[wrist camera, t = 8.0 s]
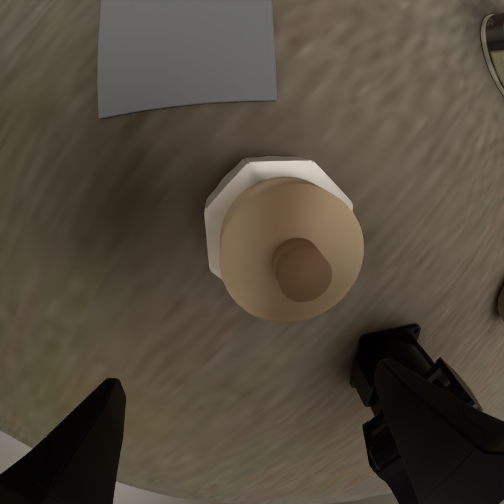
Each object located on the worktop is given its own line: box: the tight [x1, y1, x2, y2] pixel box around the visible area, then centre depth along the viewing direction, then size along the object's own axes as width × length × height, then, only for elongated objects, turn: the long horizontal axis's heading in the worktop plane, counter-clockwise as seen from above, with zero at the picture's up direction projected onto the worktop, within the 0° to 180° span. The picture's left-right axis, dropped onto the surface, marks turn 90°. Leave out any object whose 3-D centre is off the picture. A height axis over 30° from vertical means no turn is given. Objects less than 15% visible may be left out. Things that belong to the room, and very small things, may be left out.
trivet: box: [97, 0, 277, 119], centre depth 14 cm, size 11×11×1 cm
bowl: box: [204, 156, 353, 280], centre depth 18 cm, size 8×8×4 cm
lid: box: [220, 176, 364, 323], centre depth 14 cm, size 7×7×5 cm
